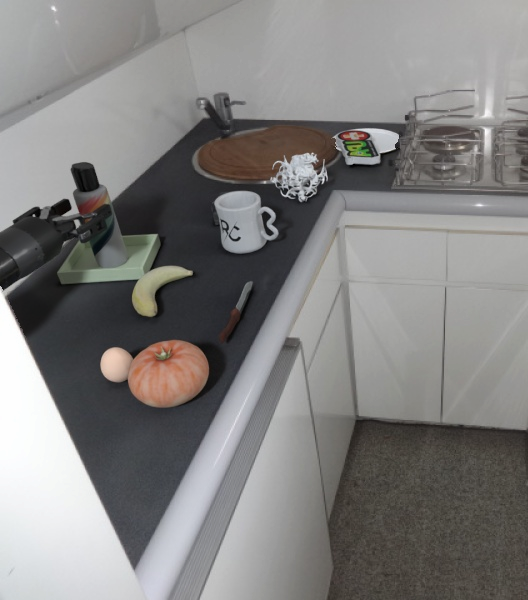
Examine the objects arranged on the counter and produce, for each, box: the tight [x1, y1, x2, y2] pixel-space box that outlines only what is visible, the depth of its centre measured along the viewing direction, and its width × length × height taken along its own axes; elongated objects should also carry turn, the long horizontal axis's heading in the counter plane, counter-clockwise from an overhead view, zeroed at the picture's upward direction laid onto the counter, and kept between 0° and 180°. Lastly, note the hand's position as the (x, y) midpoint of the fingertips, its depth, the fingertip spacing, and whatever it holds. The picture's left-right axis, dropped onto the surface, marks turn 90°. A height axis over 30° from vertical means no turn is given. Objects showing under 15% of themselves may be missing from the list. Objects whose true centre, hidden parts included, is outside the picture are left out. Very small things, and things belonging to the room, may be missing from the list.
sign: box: [335, 129, 381, 166], centre depth 158 cm, size 22×2×10 cm
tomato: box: [127, 339, 210, 409], centre depth 82 cm, size 11×11×8 cm
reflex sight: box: [210, 191, 230, 225], centre depth 130 cm, size 4×10×5 cm, turn 8°
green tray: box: [56, 233, 162, 285], centre depth 114 cm, size 15×13×2 cm
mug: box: [213, 190, 279, 255], centre depth 117 cm, size 12×9×10 cm
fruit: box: [131, 265, 194, 318], centre depth 104 cm, size 7×15×3 cm, turn 172°
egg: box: [100, 346, 134, 383], centre depth 85 cm, size 4×4×6 cm
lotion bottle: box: [69, 161, 128, 268], centre depth 108 cm, size 6×6×20 cm
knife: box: [218, 280, 254, 344], centre depth 99 cm, size 18×2×3 cm, turn 177°
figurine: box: [270, 152, 329, 203], centre depth 137 cm, size 13×15×12 cm
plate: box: [332, 127, 400, 155], centre depth 167 cm, size 21×21×1 cm
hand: (88, 205), depth 106 cm, fingers open, 8 cm apart
